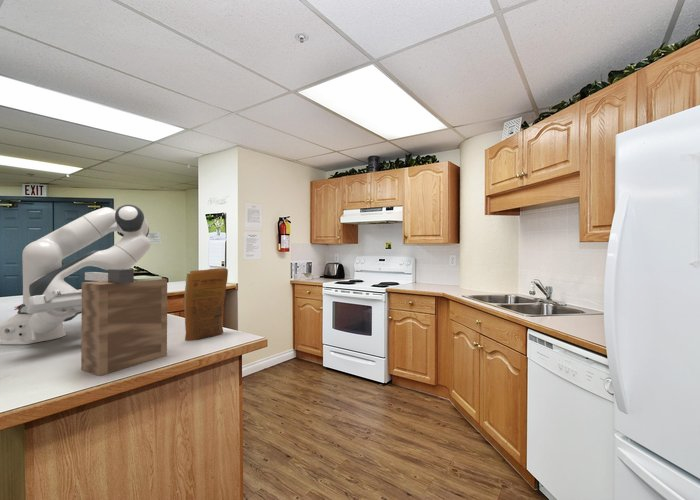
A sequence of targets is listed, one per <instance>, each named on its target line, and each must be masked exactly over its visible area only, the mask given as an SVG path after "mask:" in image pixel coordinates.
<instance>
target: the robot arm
mask: <svg viewBox="0 0 700 500" xmlns="http://www.w3.org/2000/svg"><path fill="white" fill-rule="evenodd" d="M113 232H117V234H118V235H119V236H120V237H121V239H119V241H118V242H116V243H115V244H113V245H112V246H111V247H109V248H107V249H102V250H100V249H94V250H91V251H88V252H87V253H85V254H83V255H81V256H79V257H77V258H75V259H72V260H71V261H69V262H67V263H66V264H64V265H63V264H62V263H63V262H62V261H63V260H64V259H66V258H68V257H69V256H71V255H73V254H75V253H76V252H79V251H80V250H82V249H84V248H86V247H87V246H89V245H91V244H93V243H94V242H96V241H98V240H99V239H102V238H103V237H105V236H106V235H108V234H111V233H113ZM149 233H150V228H149V224H148V220H147V219H146V217H145V215H144V212H143V211H142V210H141V208H140V207H138V206H137V205H134V204H123V205H120V206H119V207H118V208H117V209H116V210H115V209H113V208H111V207H107V206H105V207H101V208H98V209H96V210H93V211H90V212H88V213H85V214H84V215H81V216H80V217H78V218H76V219H74V220H72V221H70V222H69V223H67V224H64V225H63V226H61V227H60V228H57V229H55V230H53V231H52V232H49V233H48V234H46V235H44V236H42V237H40V238H38V239H36V240H35V241H32V242H30V243H29V244H27V245H26V246H25V247H24V248H23V250H22V257H21V258H22V259H21V260H22V303H21V304H20V305H18V306H14V307H13V308H14V309H13V310H14V311H16V310H17V313H16V314H14V315H13V316H12V317H10V318H8V319H7V320H5V321H4V322H2V323H1V324H0V345H30V344H34V343H39V342H44V341H51V340H55V339H60V338H62V337H64V336H65V337H66V335H67V333H66V330H65V327H64V323H65V322H68V321H71V320H73V319H74V318H77V316H78V315H82V290H78V289H76V288H75V287H74V286H72V285H71V284H69V283H68V282H66V281H65V278H66V277H68V276H70V275H72V274H74V273H76V272H77V271H79V270H81V269H83V268H85V267H96V268H100V269H102V270H105V271H108V269H131V268H132V267H133V266H134V265H136V263H137V262H140V260H141V259H142V258H143V257H144V256H145V254H146V253H147V252H148V251H149V249H150V248H151V244H152V243H151V241H150V239H149V238H148V236H149Z"/></svg>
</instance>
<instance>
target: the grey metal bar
mask: <svg viewBox="0 0 700 500" xmlns="http://www.w3.org/2000/svg"><path fill="white" fill-rule="evenodd" d="M134 273H135V270H134V268H129V269H108V270H107V272H101V271H100V272H99V271H84V280H85V281H91V282H97V281H102V282H108V283H117V284H122V283H133V282H134V276H135V274H134Z"/></svg>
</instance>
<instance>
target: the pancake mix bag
mask: <svg viewBox="0 0 700 500" xmlns="http://www.w3.org/2000/svg"><path fill="white" fill-rule="evenodd" d="M228 274H229V270H228V268H226V267H223V268H222V267H221V268H220V267H217V268H207V269H201V270H200V269H199V270H198V269H196V270H190V271H189V273H186V278H185V286H184V287H185V288H184V297H183V298H184V299H183V301H184V303H183V306H184V325H185V326H184V327H185V328H184V329H185V336H184V341H199V340H202V339H206V338H210V337H214V336H219V335H220V336H221V335H222V334H223V333H224V328H223V315H224V302H225V297H226V293H227V292H226V291H227V284H228V283H227V282H228V278H229V275H228Z"/></svg>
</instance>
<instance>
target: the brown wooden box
mask: <svg viewBox="0 0 700 500" xmlns="http://www.w3.org/2000/svg"><path fill="white" fill-rule="evenodd" d="M81 291H82V313H81V336H80V337H81V342H80V343H81V344H80V346H81V355H80V356H81V359H80V360H81V368H80V369H81V371H84V372H87V373H90V374H92V375H96V376H99V377H101V376H104V375H107V374H111V373H114V372H117V371H121V370H124V369H128V368H130V366H131V367H134V366H137V365H141V364H143V362H144V363H147V362H150V361H152V360H157V359H159V358H163V357H166V356H168V278H162V276H153V275H134V282H133V283H122V284H117V283H108V282H102V281H88V282H87V281H85V282H84V281H83V282H81Z"/></svg>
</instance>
